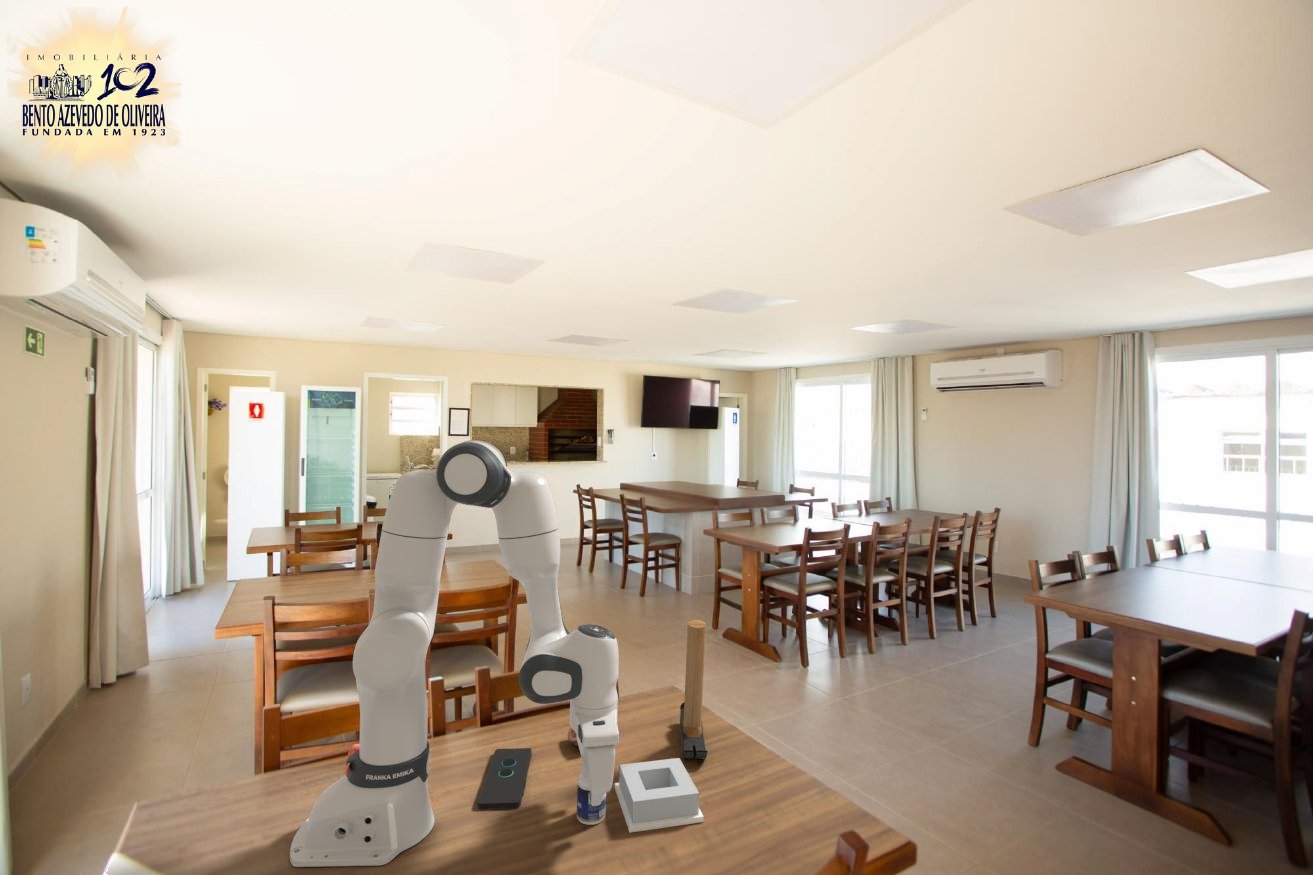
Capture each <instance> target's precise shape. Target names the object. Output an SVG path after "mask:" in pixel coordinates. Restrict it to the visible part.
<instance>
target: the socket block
mask: <svg viewBox="0 0 1313 875" xmlns="http://www.w3.org/2000/svg"><path fill="white" fill-rule="evenodd" d="M614 791H615V793H616V797H617V799H618V802H619V805H620V809H621V812H622V814H623V818H624V820H625V824H626V826H627V830H628V832H629V833H630V834H631V833H635V832H643V831H651V830H658V829H663V828H671V827H677V826H683V825H684V826H685V825H690V824H691V825H692V824H697V823H698V824H700V823H704V822H705V821H704V820H705V819H704V818H705V817H704V815H703V812H702V811H701V809H700V802H699V801H700V792H699V789H698V788H697V787H696V785H695V783H694V782H693V780H692V778H691V776H690V775H689V772H688V771H687V769H686V768H685V766H684V764H683V761H682V760H681V758H680V757H675V758H667V759H659V760H650V761H642V762H641V761H640V762H633V763H623V764H619V780H618V782H614Z"/></svg>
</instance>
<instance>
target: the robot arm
mask: <svg viewBox="0 0 1313 875" xmlns="http://www.w3.org/2000/svg"><path fill="white" fill-rule="evenodd" d="M507 462H508V461H507V460H506V457H505V454H504V453H503V452H502V450H501V449H499V447H497V446H495V445H494V444H493V443H490V442H488V441H483V440H479V439H478V440H477V439H470V440H465V441H462V442H460V443H457V444H454V445H452V446H451V447H450V448H448V449H447V450H446V451H444V453H443V454H442V455H441V457H440V459H439V460H438V462H437V465H436V469H434V470H427V469H415V470H411V471H407V472H405V473H403V474H402V475H400V476H399V477H398V478H397V480H396V482H395V484H394V487H393V489H392V491H391V494H390V497H389V501H388V502H387V507H386V509H385V514H384V518H383V522H382V528H381V534H380V539H379V544H378V551H377V557H376V560H375V561H376V563H375V569H374V574H373V575H374V581H375V582H374V601H373V611H372V616H371V619H370V621H369V623H368V626H367V627H366V628H365V630H364V631H363V632H362V634H361V635H360V636H359V638H358V640H357V642H356V643H355V648H354V651H353V655H352V656H353V657H352V671H353V675H354V677H355V681H356V682H355V683H356V689H357V695H358V696H357V697H358V701H359V702H358V703H359V713H360V714H359V717H360V718H359V743H354V744H352V745H351V747H350V748H349V751H348V753H347V759H346V762H345V763H346V764H345V768H344V769H345V771H344V772H345V773H344V775H343V776H342V777H340V778H339V779H338V780H336V781H335V782H333V783H332V784H331V785H329V786H328V787H327V788H325V789H324V791H322V792H321V794H320V795H319V796H318V798H317V799H316V801H315V803H314V804H313V807H312V808H311V811H310V813H309V816H308V817H307V819H306V820H304V822H303V823H302V824H301V825H300V827H299V828H298V829H297V831H296V833H295V835H294V837H293V838H292V842H291V844H290V848H289V861H290V863H291V865H292V867H295V868H304V867H305V868H306V867H307V868H308V867H309V868H310V867H314V868H315V867H317V868H318V867H356V866H357V867H359V866H361V867H365V866H368V867H369V866H371V867H372V866H383V865H386V864H388V863H390V862H391V861H392V860H393V859H395V857H397V856H398V855H399V854H400V853H402V852H404V851H405V850H409V848H412V847H414V846H415V845H417V844H418V843H420V842H421V841H422V840H423V839H425V838H426V836H428V834H430V832H431V831H432V830H433V827H434V824H435V814H434V812H433V809H432V808H433V807H432V805H431V798H430V793H429V783H428V778H429V774H430V767H431V766H430V765H431V750H430V742H429V741H428V721H429V719H428V717H429V699H428V692H427V682H426V681H427V679H426V660H427V659H426V658H427V653H428V649H429V646H430V643H431V641H432V638H433V636H434V631H435V624H436V619H437V612H438V605H439V604H438V603H439V602H438V601H439V596H440V594H439V593H440V584H441V576H442V571H443V564H444V559H445V553H446V552H445V551H446V546H447V541H448V535H449V530H450V522H451V517H452V514H453V511H454V509H455V507H456V506H457V505H458V504H462V505H464V506H465V505H466V506H474V507H480V508H486V509H492V512H493V514H494V518H495V521H496V522H495V523H496V528H497V529H496V530H497V536H498V544H499V551H500V554H501V558H502V561H503V565H504V567H505V569H506V573H507V574H508V575H509V576H510V577H512V578H513V579H514V580H517V581H518V582H519V583H520V584H521V586H522V587H523V589H524V592H525V593H524V594H525V598H526V604H527V608H528V609H527V611H528V615H529V623H530V635H529V638H528V643H527V645H526V649H525V650H526V651H525V656H524V658H523V660H522V664H521V666H520V671H519V674H518V683H519V688H520V690H521V691H522V693H523V695H524V696H525V697H526V698H527V699H528V700H530V701H532V703H536V704H541V705H548V704H554V703H555V704H556V703H561V702H562V703H563V702H565V701H569V703H570V705H569V726H570V727H571V728H572V729H573V730H574V731H575V733H576V736H577V742H578V746H577V747H578V750H579V752H580V758H581V759H582V760H581V761H582V763H583V765H584V769H585V773H586V776H587V780H588V784H589V788H590V801H591V805H592V806H598V805H600V804H601V795H602V793H603V792H606V793H609V792H610V791H611V790H612V787H613V782H614V775H615V774H614V773H615V762H616V745H617V744H619V741H620V731H619V725H618V715H619V714H618V712H619V711H618V708H619V707H618V706H619V695H618V694H619V693H618V691H617V683H618V680H619V676H620V675H619V670H620V666H619V665H620V660H619V659H620V658H619V657H620V655H619V654H620V653H619V646H618V645H619V643H618V640H617V637H616V636H615V634H614V633H613V632H612V631H611V630H610V629H608V628H606V627H604V626H601V625H598V624H590V623H589V624H588V623H587V624H581V625H579V626H578V627H576V628H575V629H574V630H573V631H571V632H569V630H568V629H567V627H566V625H565V623H564V620H563V614H562V607H561V602H560V595H559V588H558V587H559V586H558V577H559V576H558V575H559V571H560V564H561V533H560V532H561V531H560V525H559V518H558V514H557V508H556V505H555V501H554V497H553V494H552V490H551V488H550V485H549V482H548V480H546V478H545V477H544V476H543V475H541V474H539V473H536V472H532V471H520V472H517V471H516V472H515V471H512V470H511V469H509V468H508V463H507ZM570 727H569V728H570Z"/></svg>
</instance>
